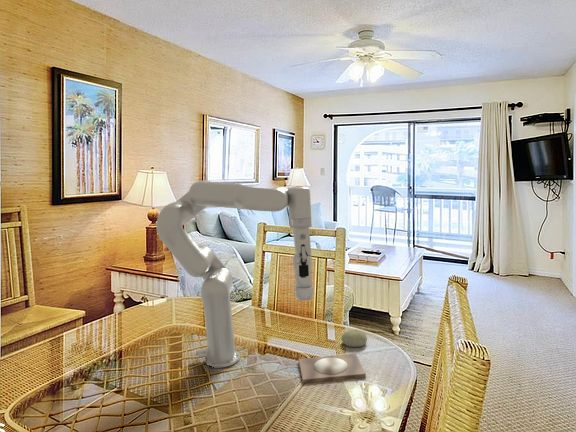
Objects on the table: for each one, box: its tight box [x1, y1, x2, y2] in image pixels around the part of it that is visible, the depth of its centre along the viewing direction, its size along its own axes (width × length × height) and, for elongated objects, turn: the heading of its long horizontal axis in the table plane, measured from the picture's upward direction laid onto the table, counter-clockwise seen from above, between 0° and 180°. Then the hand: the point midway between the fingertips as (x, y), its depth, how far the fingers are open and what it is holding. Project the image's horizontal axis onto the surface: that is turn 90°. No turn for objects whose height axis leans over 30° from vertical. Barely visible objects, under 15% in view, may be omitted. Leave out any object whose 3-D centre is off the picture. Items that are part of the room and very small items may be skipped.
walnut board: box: [298, 353, 367, 384], centre depth 139 cm, size 20×14×1 cm
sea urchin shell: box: [341, 328, 368, 348], centre depth 157 cm, size 9×8×8 cm
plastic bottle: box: [292, 252, 314, 301], centre depth 146 cm, size 6×7×20 cm
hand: (303, 273), depth 146 cm, fingers closed on plastic bottle, 6 cm apart
